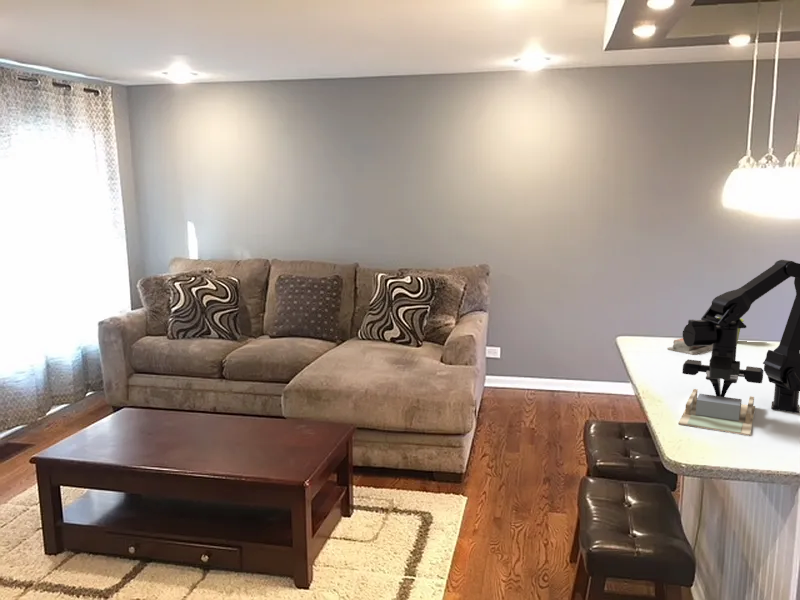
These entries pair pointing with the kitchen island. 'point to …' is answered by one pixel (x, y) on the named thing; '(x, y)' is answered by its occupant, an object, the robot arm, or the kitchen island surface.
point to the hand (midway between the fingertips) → (719, 402)
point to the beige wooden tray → (718, 423)
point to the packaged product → (688, 348)
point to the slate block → (718, 407)
